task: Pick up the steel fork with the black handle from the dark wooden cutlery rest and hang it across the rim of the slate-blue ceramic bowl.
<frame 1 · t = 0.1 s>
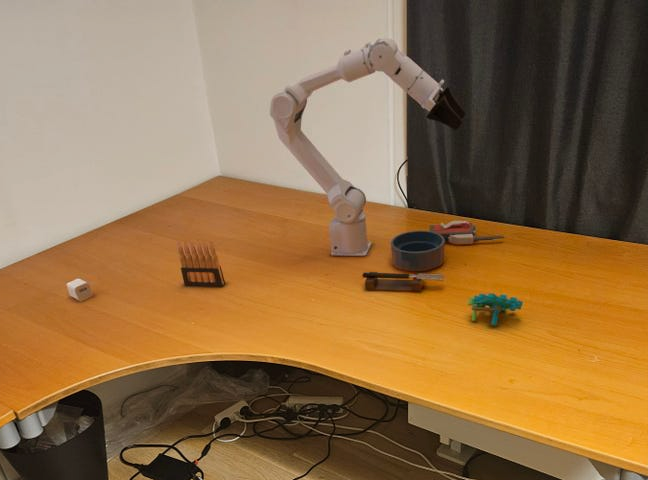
hand: (461, 121, 139), 32 cm above the table, tool tilted 50°, fingers open, 7 cm apart
fork: (404, 277, 144), point 2 cm above the table, touching cutlery rest
usb wall charger: (80, 296, 159), on the table
teal knobby toy: (494, 318, 130), on the table
bowl: (418, 261, 155), on the table
cutlery rest: (394, 286, 146), on the table
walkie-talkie: (463, 239, 164), on the table
ammunition clip: (205, 285, 157), on the table
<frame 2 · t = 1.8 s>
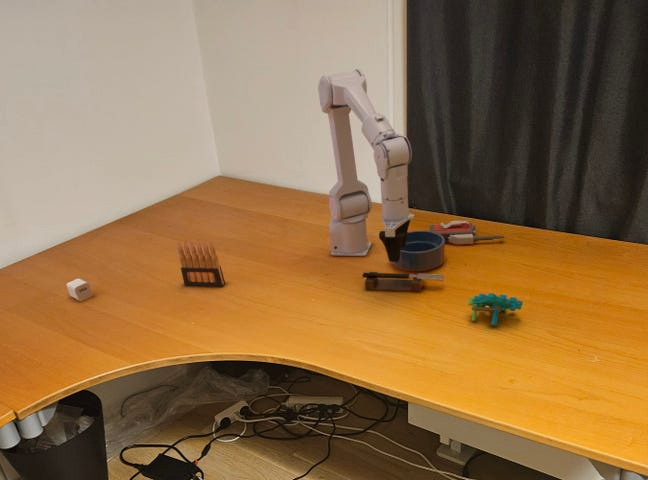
hand: (397, 253, 141), 8 cm above the table, tool pointing down, fingers open, 7 cm apart
nothing on the table moved.
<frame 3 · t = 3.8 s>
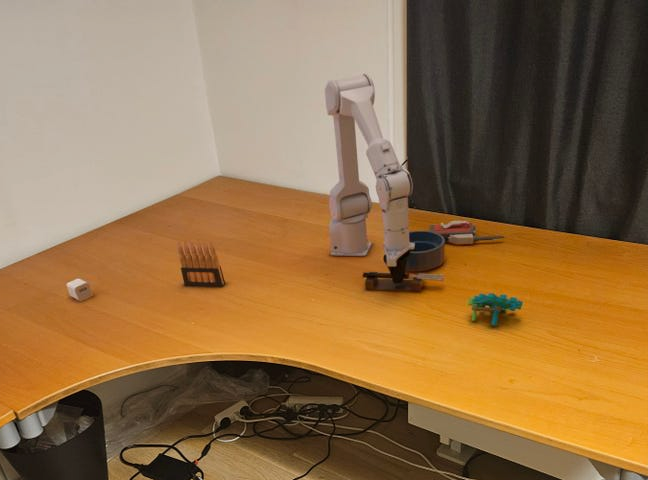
hand: (398, 280, 144), 2 cm above the table, tool pointing down, fingers closed on fork, 1 cm apart
fork: (404, 277, 144), point 2 cm above the table, touching cutlery rest, gripper
everything else where it was.
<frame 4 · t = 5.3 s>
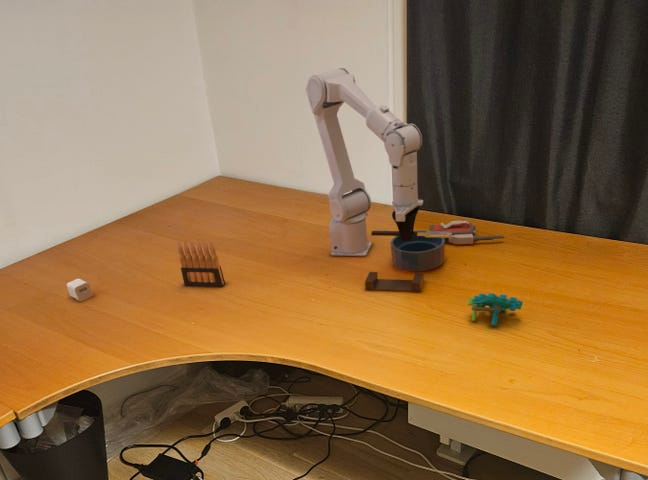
hand: (406, 238, 147), 9 cm above the table, tool pointing down, fingers closed on fork
fork: (413, 235, 146), point 9 cm above the table, touching gripper
everything else where it was.
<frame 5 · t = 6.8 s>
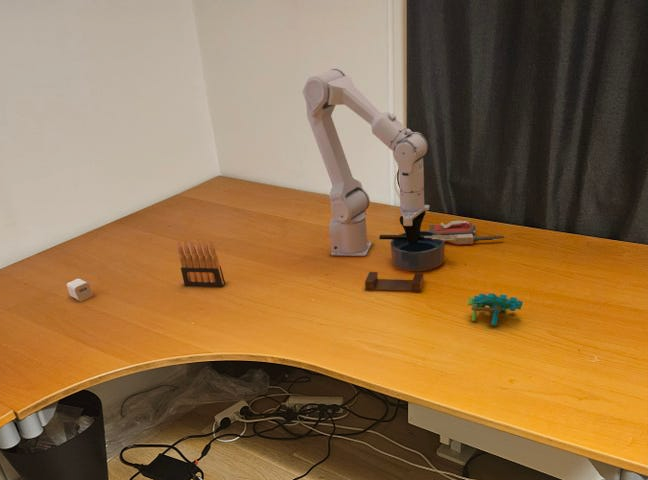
hand: (413, 242, 152), 5 cm above the table, tool pointing down, fingers closed on fork, 1 cm apart
fork: (419, 238, 152), point 6 cm above the table, touching gripper
everything else where it was.
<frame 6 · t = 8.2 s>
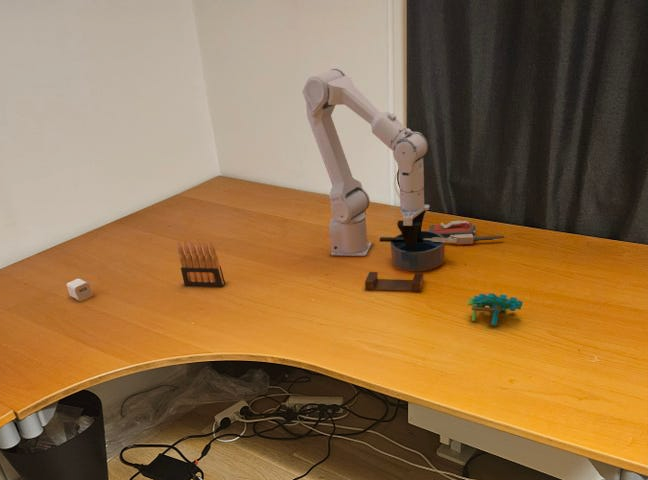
hand: (413, 241, 152), 5 cm above the table, tool pointing down, fingers open, 7 cm apart
fork: (419, 241, 152), point 5 cm above the table, touching bowl
everything else where it was.
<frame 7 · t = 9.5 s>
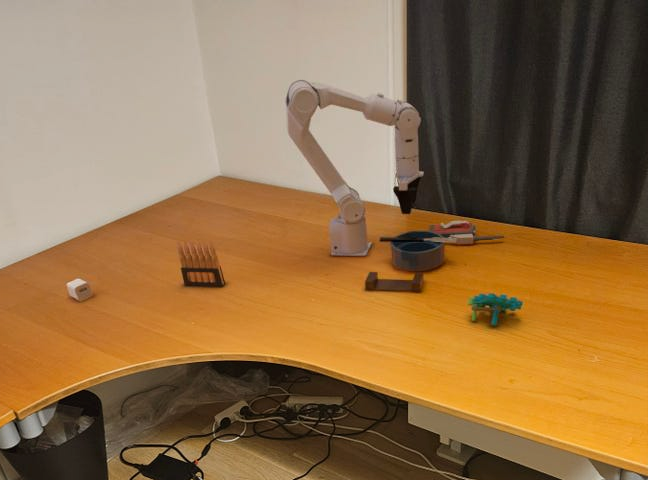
hand: (408, 208, 160), 9 cm above the table, tool pointing down, fingers open, 7 cm apart
nothing on the table moved.
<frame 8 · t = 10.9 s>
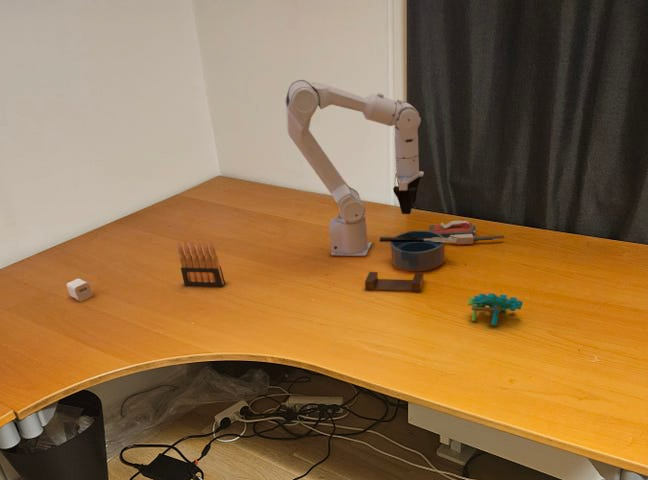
hand: (408, 207, 160), 9 cm above the table, tool pointing down, fingers open, 7 cm apart
nothing on the table moved.
at the end: fork inside the target area on the bowl (0.6 cm from its centre), point 5.5 cm above the bowl's base; fork touching bowl; the gripper is holding nothing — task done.
